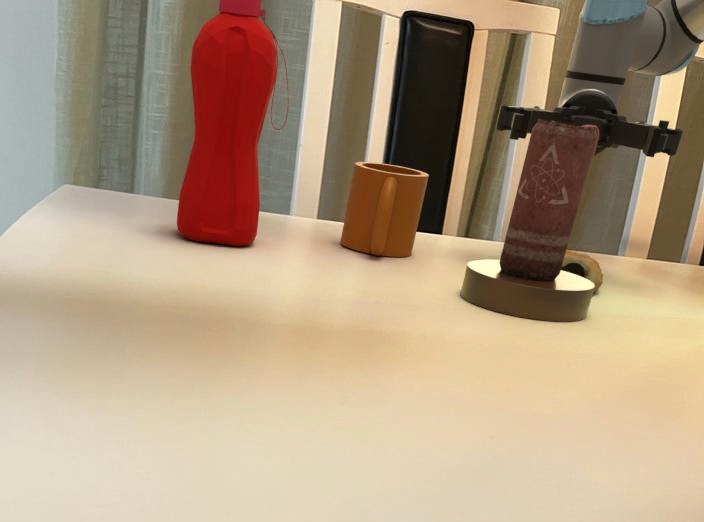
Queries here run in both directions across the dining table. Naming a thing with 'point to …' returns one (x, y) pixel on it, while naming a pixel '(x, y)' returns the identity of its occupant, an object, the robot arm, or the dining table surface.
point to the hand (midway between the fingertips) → (588, 133)
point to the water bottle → (228, 124)
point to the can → (548, 198)
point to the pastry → (583, 267)
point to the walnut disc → (527, 293)
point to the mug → (383, 209)
